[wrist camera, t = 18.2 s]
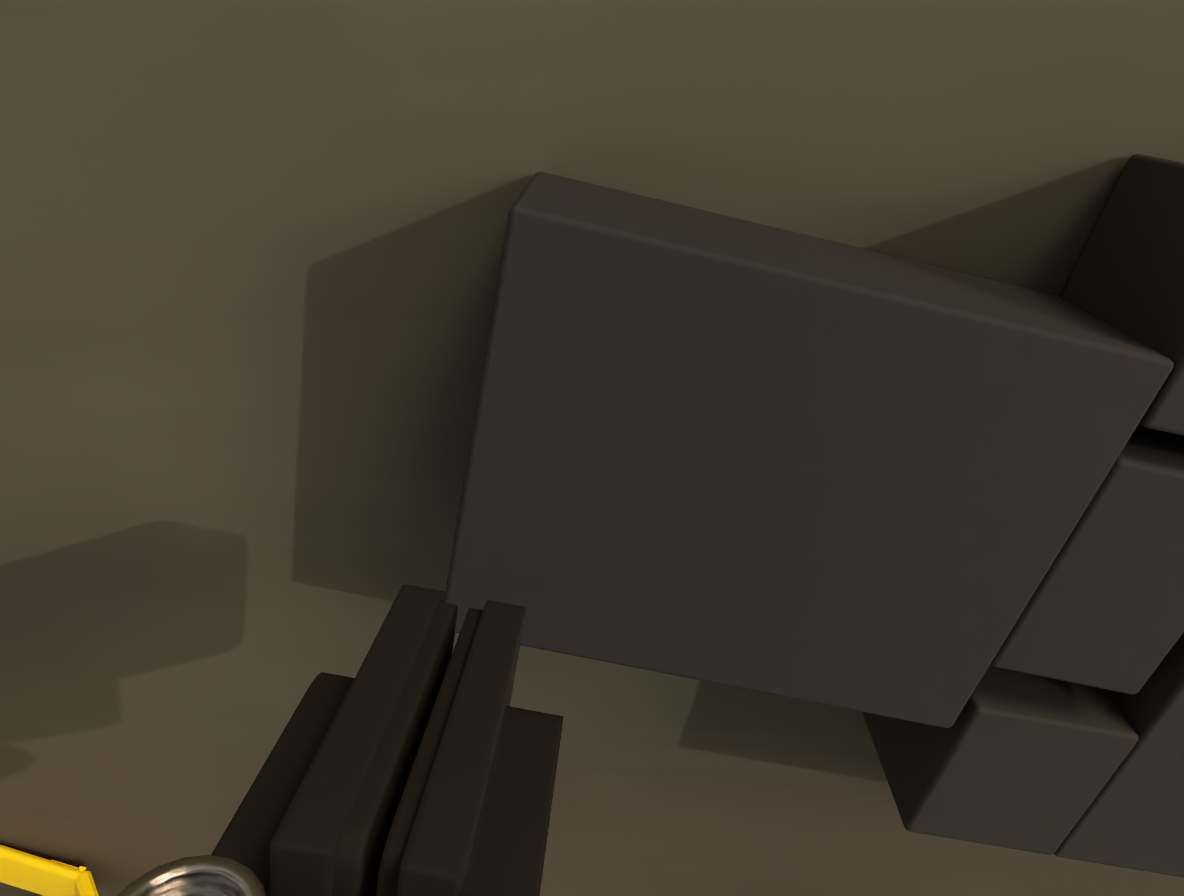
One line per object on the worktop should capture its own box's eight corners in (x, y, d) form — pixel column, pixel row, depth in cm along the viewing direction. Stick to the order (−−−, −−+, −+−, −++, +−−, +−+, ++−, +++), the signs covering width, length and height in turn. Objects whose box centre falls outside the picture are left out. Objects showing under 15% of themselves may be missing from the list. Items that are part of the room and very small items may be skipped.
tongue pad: (1009, 635, 16) (1090, 758, 13) (471, 525, 15) (438, 631, 13) (1199, 328, 13) (1359, 403, 10) (535, 170, 12) (509, 204, 9)
